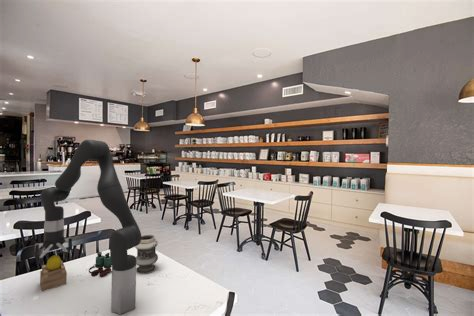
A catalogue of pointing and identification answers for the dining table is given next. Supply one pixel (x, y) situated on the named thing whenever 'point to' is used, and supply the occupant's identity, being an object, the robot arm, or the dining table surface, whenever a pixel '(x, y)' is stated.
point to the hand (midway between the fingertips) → (53, 262)
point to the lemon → (53, 263)
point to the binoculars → (101, 265)
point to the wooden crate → (53, 277)
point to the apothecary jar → (146, 254)
